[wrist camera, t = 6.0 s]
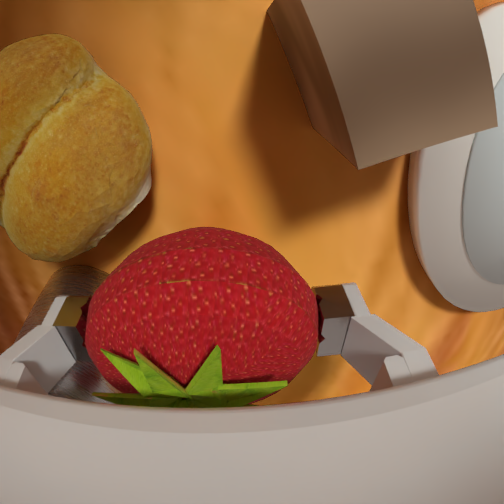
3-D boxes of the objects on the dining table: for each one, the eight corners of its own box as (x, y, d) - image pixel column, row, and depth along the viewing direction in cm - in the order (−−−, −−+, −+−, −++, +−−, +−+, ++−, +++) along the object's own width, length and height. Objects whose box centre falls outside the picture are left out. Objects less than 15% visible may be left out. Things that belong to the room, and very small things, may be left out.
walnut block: (266, 10, 9) (290, -23, 5) (384, -13, 8) (460, -35, 4) (312, 127, 12) (358, 169, 8) (418, 96, 11) (497, 126, 7)
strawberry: (297, 275, 16) (347, 480, 7) (151, 301, 16) (116, 492, 8) (281, 159, 12) (376, 389, 4) (106, 199, 13) (-12, 406, 4)
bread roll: (46, 3, 7) (-12, -5, 4) (191, 146, 12) (182, 186, 8) (-44, 151, 9) (-95, 187, 6) (74, 263, 14) (46, 322, 11)
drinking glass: (31, 267, 14) (-46, 409, 7) (126, 262, 14) (67, 446, 7) (69, 341, 18) (29, 469, 10) (153, 344, 18) (132, 494, 10)
